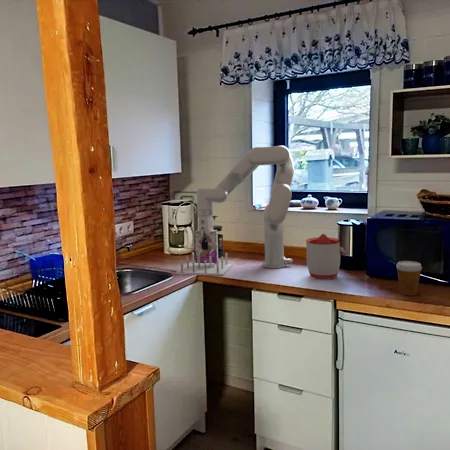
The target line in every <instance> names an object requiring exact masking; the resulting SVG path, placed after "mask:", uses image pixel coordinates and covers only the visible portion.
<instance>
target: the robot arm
mask: <svg viewBox="0 0 450 450" xmlns="http://www.w3.org/2000/svg"><path fill="white" fill-rule="evenodd" d="M271 165H272V166H273V165H276V171H275V176H274V180H273V183H272V186H271V187H270V188H271V189H270V199H269V203H268V204H267V205H266V206H265V208H264V210H263V228H264V229H263V230H264V232H263V233H264V261H263V262H262V263H261V266H262V267H264V268H267V269H281V268H286V267H287V265H288V264H291V263H293V258H287V257H286V255H284V254H285V253H284V252H285V251H284V250H285V249H284V245H285V243H284V221H285V220H286V217H287V215H288V211H289V206H290V204H291V201H292V196H293V195H292V194H293V193H292V189H291V185H292V182H293V178H294V174H295V164H294V160H293V157H292V156H291V151H290V150H289V148H288V147H286V146H285V145H275V146H260V147H258V146H257V147H256V146H255V147H252V148H250V149H249V150H248V152H247V153H246V154H245V155H244V156H243V157H242V158H241V159H240V160H239V161H238V162H237V163H236V165H235V166H233V168H232V169H231V170H229V172H228V174H227V175H226V176H225V177H223V179H222V180H221V181H220V182H219V183H218V184H217V185H216V186H215V187H214V188H210V187H200V188H198V189H197V190H196V201H197V202H196V205H197V206H196V207H197V216H198V218H199V219H198V227H199V228H198V230H199V233H200V236H201V245H202V250H208V242H207V235H208V236H210V232H211V231H212V230H214V229H213V226H214V219H213V217H212V216H214V213H213V211H214V209H213V206H214V205H213V203H216V204H218V203H219V204H221V203H224V202H226V200H227V199H228V196H229V195H230V194H231V193H232V192H233V191H234V190H235V189H236V188H237V187H238V186H239V185H240V184H242V183H244V182H245V181H246V180H247V179H248V178H249V177H250V176H251V175H252V174H253V173H254V172H255V170H256V169H257V168H258V167H259V166H271ZM204 234H206V235H204ZM205 237H206V239H205Z"/></svg>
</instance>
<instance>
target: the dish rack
mask: <svg viewBox="0 0 450 450" xmlns="http://www.w3.org/2000/svg"><path fill="white" fill-rule="evenodd" d="M224 257H225V259H224ZM189 260H190V259H189V255H186V264H185V265H184V263H183V262H184V260H183V259H180V268H179V269H178V270H176V271H175V275H191V276H213V277H214V276H216V277H217V276H218V277H224V276H225V275H226V274H227V273H228V272H229V271H230V269H232V268H233V266H234V264H232V263H229V262H228V252H225V254H224V256H223V257H220V263H219V260H218V261H216V263H212V261H211V256H209V262H210V263H206V260H204V263H200V256H198V263H196V260H195V251H194V252H193V251H192V252H191V262H189ZM224 261H225V263H224Z"/></svg>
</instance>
